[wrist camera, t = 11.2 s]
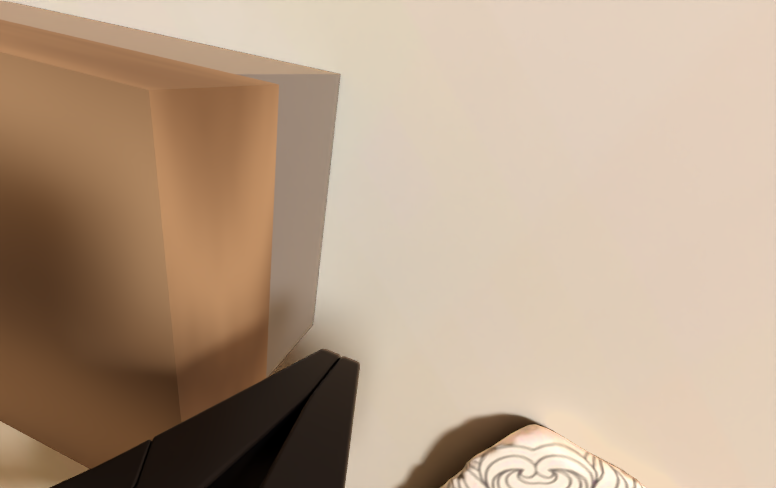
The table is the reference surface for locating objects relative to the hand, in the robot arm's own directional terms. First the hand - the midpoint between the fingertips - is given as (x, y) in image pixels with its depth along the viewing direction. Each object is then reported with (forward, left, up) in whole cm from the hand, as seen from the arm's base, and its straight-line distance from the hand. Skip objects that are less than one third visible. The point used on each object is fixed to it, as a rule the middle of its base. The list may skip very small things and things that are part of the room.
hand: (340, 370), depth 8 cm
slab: (0, +11, -1) cm, 11 cm away
